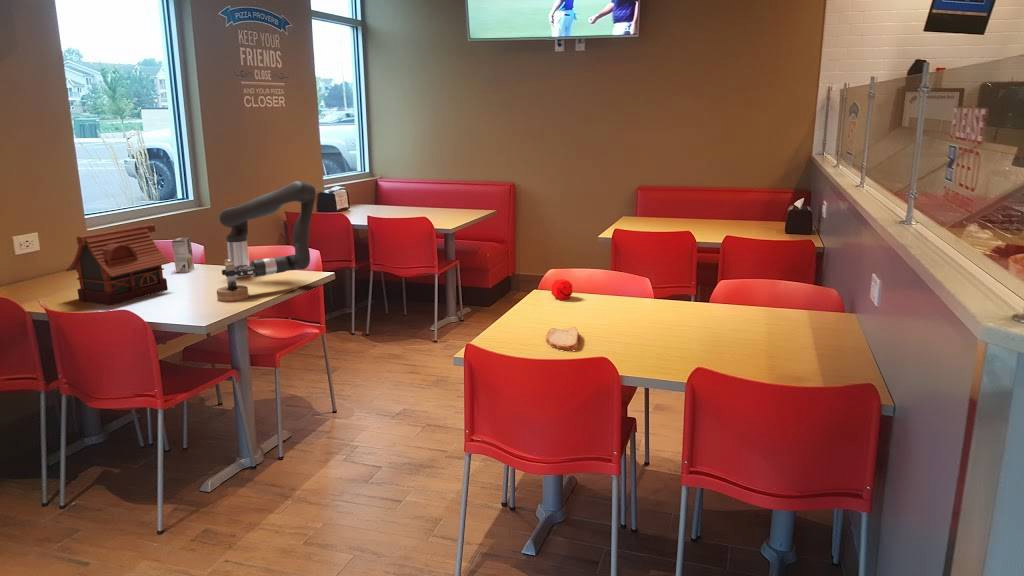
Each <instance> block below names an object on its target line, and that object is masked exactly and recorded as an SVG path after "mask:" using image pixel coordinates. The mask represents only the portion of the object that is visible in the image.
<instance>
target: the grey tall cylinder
mask: <svg viewBox="0 0 1024 576" xmlns="http://www.w3.org/2000/svg"><path fill="white" fill-rule="evenodd" d="M224 267H225V269H226V271H232V270H235V267H234V259H228V258H226V259H224ZM226 282H227V285H226V286H228V290H235V289H237V285H238V284H237V278H236V276H229V277H226Z"/></svg>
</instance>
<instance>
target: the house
mask: <svg viewBox="0 0 1024 576" xmlns="http://www.w3.org/2000/svg"><path fill="white" fill-rule="evenodd" d="M155 227H156V225H155V224H154V223H145V224H140V225H139V224H138V225H134V226H129V227H125V228H120V229H114V230H109V231H103V232H96V233H92V234H91V233H90V234H85V235H80V236H76V244H77V246H78V248H77V251H76V254H75V257H74V258H73V259H74V260H73V261H72V263H71V264H70V265H69V267H67V269H65V271H66V272H72V271H75V272H76V273H77V276H78V277H77V278H76V280H77V281H79V286H80V287H79V288H77V296H78V301H79V302H82V303H93V304H99V305H104V306H113V305H117V304H121V303H124V302H128V301H133V300H135V299H134V298H136V299H139V298H143V297H146V296H145V295H147V296H149V295H148V294H150V295H153V294H152V293H154V294H157V293H156V292H158V293H161V292H164V291H163V290H165V291H167V290H168V289H169V288H168V281H167V278H165V277H164V274H163V271H164V270H165V268H163V267H162V266H164V265H168V264H171V262H172V261H170V260H169V259H168V258H167V256H165V255H164V253H162V251H161V250H160V249H159V247H158V245H157V244H156V243H155V241H154V240H153V237H152V236H151V233H155V232H156V228H155ZM160 291H161V292H160ZM142 296H143V297H142ZM138 297H139V298H138Z"/></svg>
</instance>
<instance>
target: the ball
mask: <svg viewBox="0 0 1024 576" xmlns="http://www.w3.org/2000/svg"><path fill="white" fill-rule="evenodd" d="M550 291H551V295H552V297H554V298H555V299H557V300H559V301H560V300H561V301H562V300H567V299H569V298H570V297H571V296H572V294H573V284H572V283H571V282H570V281H569V280H567V279H564V278H561V279H560V278H559V279H556V280H554V282H553V283H552V284H551V289H550Z"/></svg>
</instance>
